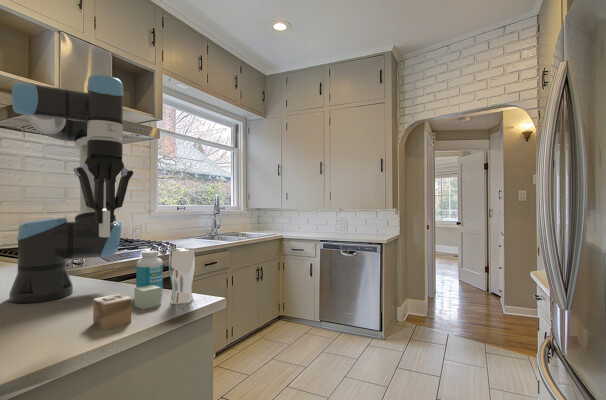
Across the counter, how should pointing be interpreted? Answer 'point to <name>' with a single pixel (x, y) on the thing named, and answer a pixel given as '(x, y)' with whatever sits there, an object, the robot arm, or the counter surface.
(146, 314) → the counter surface
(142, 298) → the sage block
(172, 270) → the beer glass
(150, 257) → the pill bottle
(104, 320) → the walnut block
